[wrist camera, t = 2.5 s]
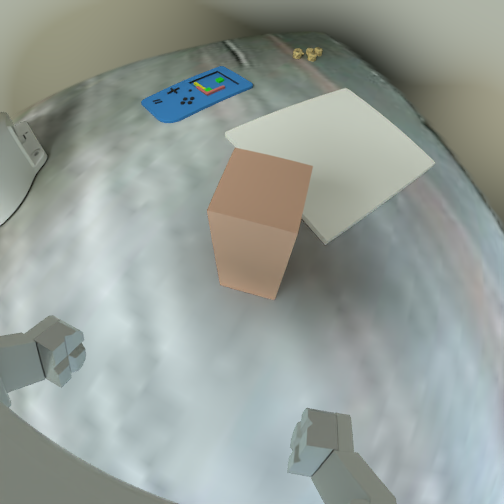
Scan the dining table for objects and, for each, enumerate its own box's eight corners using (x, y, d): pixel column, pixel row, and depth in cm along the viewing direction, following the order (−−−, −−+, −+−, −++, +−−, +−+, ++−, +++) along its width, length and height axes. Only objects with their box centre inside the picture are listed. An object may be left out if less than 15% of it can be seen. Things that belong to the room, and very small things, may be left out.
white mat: (225, 136, 35) (224, 132, 34) (345, 91, 41) (346, 87, 40) (325, 245, 29) (327, 241, 28) (433, 166, 35) (435, 162, 34)
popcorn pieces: (321, 56, 48) (323, 48, 46) (318, 66, 45) (319, 58, 44) (295, 50, 48) (296, 42, 46) (290, 60, 46) (291, 51, 44)
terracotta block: (220, 285, 27) (206, 210, 16) (236, 237, 29) (234, 147, 18) (274, 300, 27) (297, 233, 16) (287, 251, 29) (313, 166, 18)
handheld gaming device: (139, 99, 38) (222, 63, 42) (141, 105, 39) (222, 69, 43) (165, 123, 35) (254, 83, 40) (166, 129, 36) (254, 88, 41)
